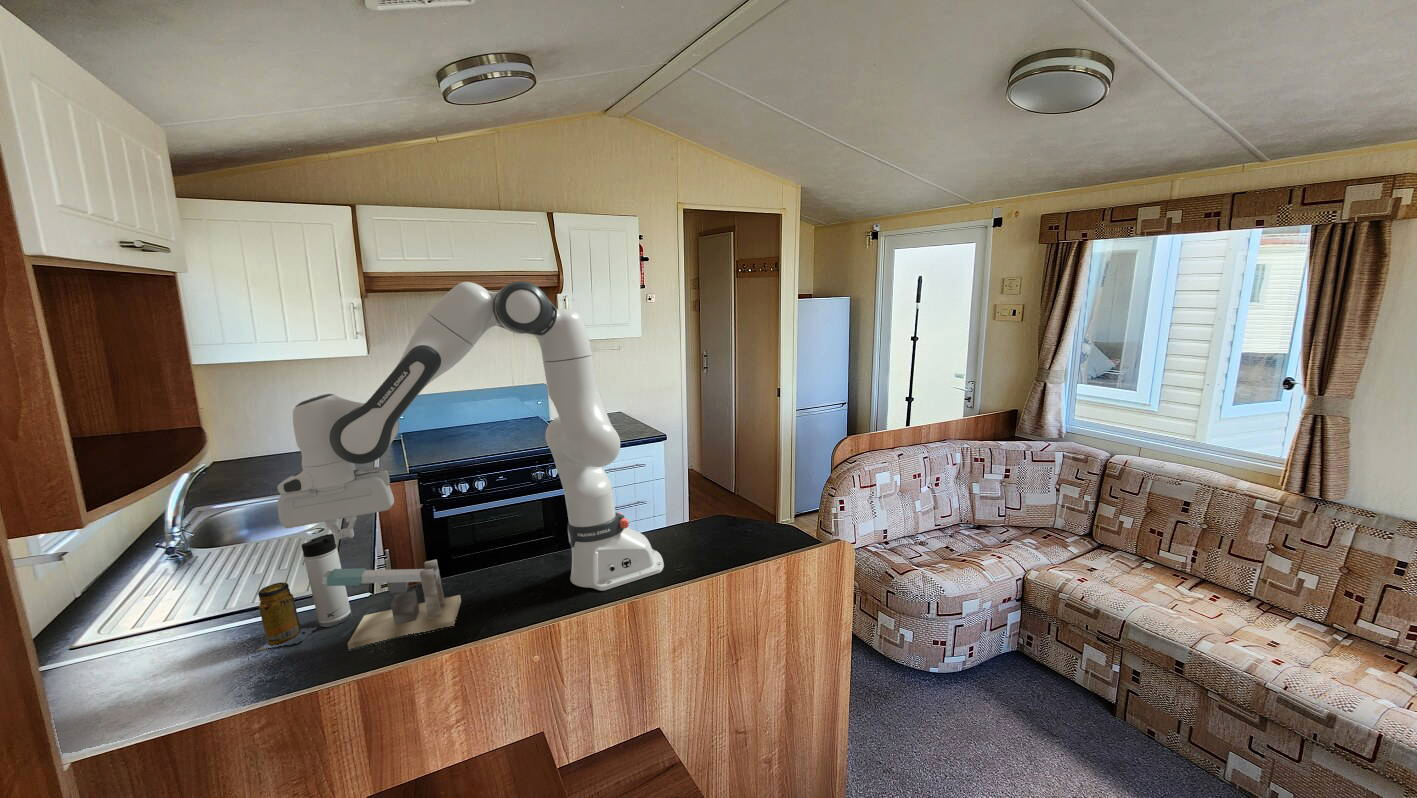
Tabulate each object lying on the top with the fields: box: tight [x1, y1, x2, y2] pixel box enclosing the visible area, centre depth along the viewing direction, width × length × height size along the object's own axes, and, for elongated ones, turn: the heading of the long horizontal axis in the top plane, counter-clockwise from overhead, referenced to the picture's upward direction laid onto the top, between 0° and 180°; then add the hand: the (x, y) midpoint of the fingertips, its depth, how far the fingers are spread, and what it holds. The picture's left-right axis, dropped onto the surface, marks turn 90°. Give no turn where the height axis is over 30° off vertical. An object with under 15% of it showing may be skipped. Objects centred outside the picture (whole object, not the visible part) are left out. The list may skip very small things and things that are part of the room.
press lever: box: [322, 567, 440, 594], centre depth 125 cm, size 22×4×4 cm, turn 106°
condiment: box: [257, 581, 302, 651], centre depth 126 cm, size 7×8×12 cm
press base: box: [347, 559, 462, 650], centre depth 126 cm, size 20×12×12 cm, turn 106°
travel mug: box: [301, 533, 352, 625], centre depth 131 cm, size 6×7×20 cm
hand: (345, 538), depth 122 cm, fingers closed
